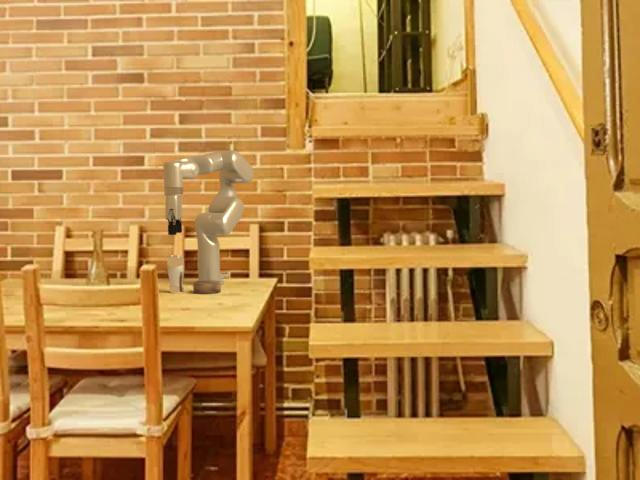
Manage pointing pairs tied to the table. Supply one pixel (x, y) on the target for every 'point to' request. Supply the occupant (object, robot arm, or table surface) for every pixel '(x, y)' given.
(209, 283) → the walnut pedestal
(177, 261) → the beer glass
